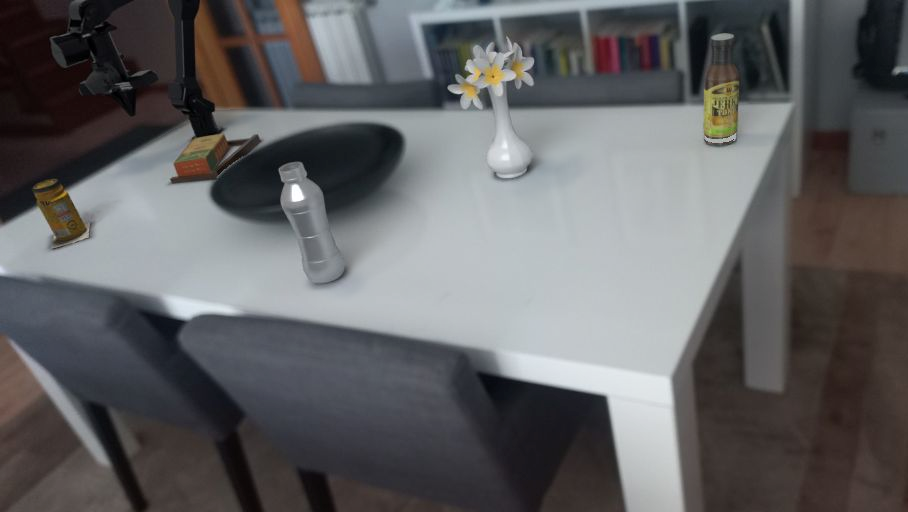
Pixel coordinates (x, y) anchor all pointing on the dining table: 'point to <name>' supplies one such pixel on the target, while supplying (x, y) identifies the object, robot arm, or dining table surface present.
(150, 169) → the dining table surface
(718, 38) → the sauce bottle
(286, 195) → the plastic bottle
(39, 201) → the condiment
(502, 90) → the flower vase
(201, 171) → the carton
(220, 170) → the frame
